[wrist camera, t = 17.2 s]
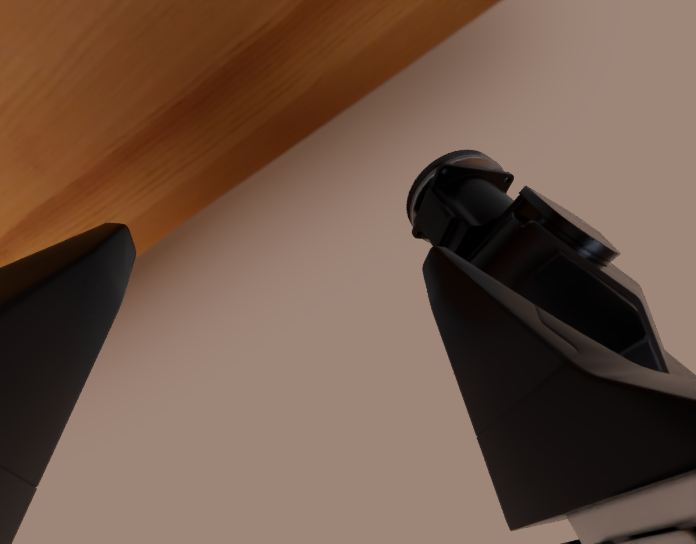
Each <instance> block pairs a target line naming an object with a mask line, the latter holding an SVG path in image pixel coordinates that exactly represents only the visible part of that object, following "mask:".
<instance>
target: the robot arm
mask: <svg viewBox="0 0 696 544" xmlns="http://www.w3.org/2000/svg"><path fill="white" fill-rule="evenodd" d="M445 168H446V171H445V172H442V170H443V169H445ZM506 178H508V179H507V180H506V181H505V179H506ZM513 180H514V176H513V175H512V174H511V173H509V172H504V171H497V170H491V169H484V168H478V167H471V166H465V165H458V164H452V163H442V164H440V165H439V166H438V168H437V170H436V172H435V175H434V177H433V180H432V182H431V185H430V187H429V189H428V190H427V191H426V193H425V196H424V198H423V201H422V203H421V206H420V208H419V211H418V213H417V216H416V222H415V225H414V227H413V230H412V234H413V236H414V237H415V238H419V239H429V241H430V242H431V244H432V245H433V247H432V248H431V249H430V251H429V253H428V255H427V257H426V259H425V261H424V264H423V269H422V270H423V275H424V280H425V283H426V288H427V293H428V297H429V301H430V305H431V309H432V312H433V315H434V318H435V320H436V323H437V326H438V329H439V332H440V335H441V337H442V340H443V343H444V346H445V349H446V352H447V354H448V357H449V360H450V363H451V366H452V369H453V371H454V374H455V377H456V380H457V382H458V385H459V388H460V391H461V394H462V397H463V400H464V402H465V405H466V408H467V411H468V414H469V417H470V419H471V422H472V425H473V428H474V431H475V434H476V436H478V437H477V440H478V443H479V445H480V448H481V451H482V454H483V456H484V460H485V462H486V465H487V468H488V471H489V474H490V477H491V479H492V482H493V485H494V488H495V491H496V494H497V496H498V499H499V502H500V505H501V508H502V510H503V513H504V516H505V519H506V522H507V524H508V526H509V528H510V530H511V531H514V530H518V529H523V528H528V527H532V526H536V525H542V524H546V523H551V522H555V521H560V520H564V519H568V520H569V522H570V524H571V525H572V527H573V529H574V531H575V533H576V534H577V536H578V538H579V539H578V540H574V541H570V542H567V543H562V544H696V375H695V374H694V373H692V372H691V371H690V370H688V369H687V368H686V367H685V366H684V365H682V364H681V363H680V362H678V361H677V360H676V359H675V358H674V357H672V356H671V355H670V354H669V353H668V352H666V350H664V348H663V345H662V342H661V340H660V337H659V334H658V331H657V329H656V326H655V324H654V321H653V318H652V316H651V313H650V310H649V308H648V305H647V302H646V300H645V297H644V294H643V291H642V289H641V287H640V285H639V284H638V283H637V282H636V281H634V280H633V279H632V278H630V277H629V276H628V275H626V274H625V273H624V272H622V271H621V270H619V269H618V268H617V267H615V266H614V265H613V264H611V263H610V262H611V261H612V260H614V259H615V258H616V257H617V256H619V255H620V252H619V251H617V249H616V248H615V247H613V245H612V244H610V242H609V241H608V240H607V239H606V238H605V237H604V236H603V235H602V234H601V233H600V232H598V231H597V230H595V229H594V228H592V227H591V226H590V225H588V224H587V223H586V222H584V221H583V220H581V219H580V218H578V217H577V216H575V215H574V214H572V213H571V212H570V211H568V210H566V209H565V208H563V207H561V206H560V205H558V204H556V203H554V202H553V201H551V200H549V199H548V198H546V197H544V196H543V195H541V194H539V193H537V192H536V191H534V190H532V189H531V188H529V187H527V186H525V187H524V188H523V189H522V190H521V191H520V192H519V194H520V195H519V196H518V197H517V198H516V199H515V200H512V199H511V198H510V197H509V196H508V195H506V192H507V190H508V188H509V187H510V185H511V183H512V182H513ZM418 231H420V232H419V233H417V232H418ZM135 257H136V249H135V246H134V243H133V240H132V237H131V234H130V231H129V228H128V227H127V226H126V225H125V224H120V223H105V224H102V225H100V226H98V227H95V228H93V229H91V230H88V231H86V232H84V233H81V234H79V235H77V236H74V237H72V238H69V239H67V240H65V241H62V242H60V243H58V244H55V245H53V246H51V247H48V248H46V249H44V250H41V251H39V252H36V253H34V254H32V255H29V256H27V257H25V258H22V259H20V260H18V261H15V262H13V263H10V264H8V265H6V266H3V267H1V268H0V544H12V542H13V540H14V537H15V535H16V533H17V531H18V529H19V526H20V524H21V522H22V520H23V518H24V516H25V514H26V511H27V509H28V507H29V505H30V503H31V501H32V498H33V496H34V494H35V492H36V489H37V488H36V487H37V486H38V485H39V482H40V480H41V478H42V476H43V474H44V472H45V469H46V467H47V465H48V463H49V461H50V458H51V456H52V454H53V452H54V450H55V448H56V445H57V443H58V441H59V439H60V437H61V435H62V432H63V430H64V428H65V426H66V424H67V422H68V419H69V417H70V415H71V413H72V411H73V408H74V406H75V404H76V402H77V400H78V398H79V395H80V393H81V391H82V389H83V387H84V385H85V382H86V380H87V378H88V376H89V374H90V372H91V369H92V367H93V365H94V363H95V361H96V359H97V356H98V354H99V352H100V350H101V348H102V346H103V343H104V341H105V339H106V337H107V335H108V332H109V330H110V328H111V326H112V324H113V321H114V319H115V317H116V315H117V313H118V311H119V308H120V306H121V303H122V300H123V297H124V294H125V291H126V288H127V284H128V281H129V277H130V274H131V271H132V267H133V264H134V261H135Z"/></svg>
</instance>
